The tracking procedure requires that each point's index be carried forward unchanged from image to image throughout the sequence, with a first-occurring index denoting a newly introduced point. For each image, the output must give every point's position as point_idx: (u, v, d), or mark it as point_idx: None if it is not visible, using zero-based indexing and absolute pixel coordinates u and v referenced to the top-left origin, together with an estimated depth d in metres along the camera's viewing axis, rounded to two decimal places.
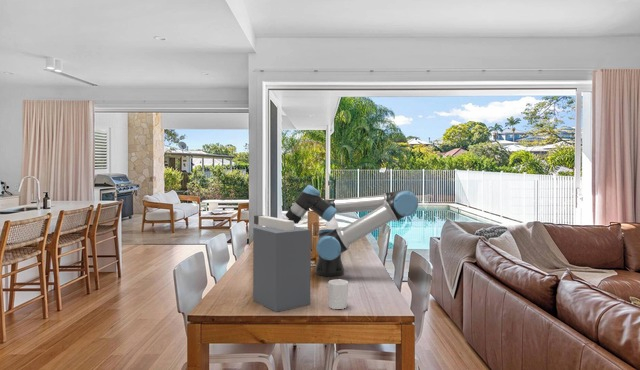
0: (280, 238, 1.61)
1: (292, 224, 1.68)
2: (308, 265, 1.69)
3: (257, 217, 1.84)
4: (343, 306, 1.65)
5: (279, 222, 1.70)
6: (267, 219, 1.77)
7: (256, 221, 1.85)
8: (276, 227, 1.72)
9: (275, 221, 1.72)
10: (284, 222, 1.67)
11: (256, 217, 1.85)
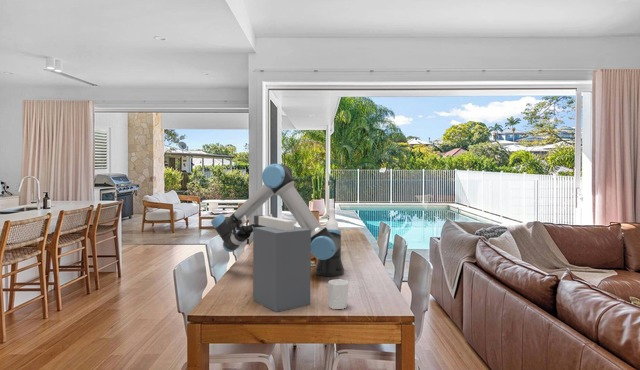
0: (280, 238, 1.61)
1: (292, 224, 1.68)
2: (308, 265, 1.69)
3: (257, 217, 1.84)
4: (343, 306, 1.65)
5: (279, 222, 1.70)
6: (267, 219, 1.77)
7: (256, 221, 1.85)
8: (276, 227, 1.72)
9: (275, 221, 1.72)
10: (284, 222, 1.67)
11: (256, 217, 1.85)
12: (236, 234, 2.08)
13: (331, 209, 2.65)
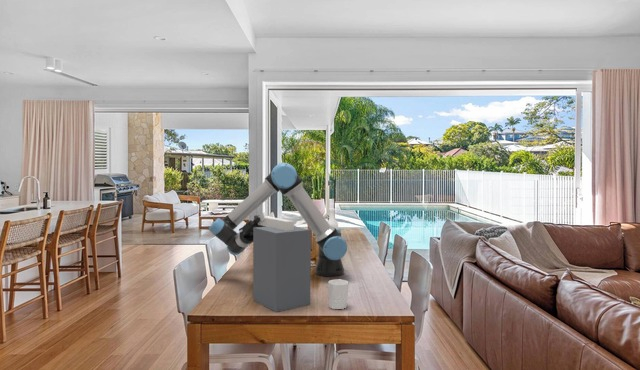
0: (280, 238, 1.61)
1: (292, 224, 1.68)
2: (308, 265, 1.69)
3: (257, 217, 1.84)
4: (343, 306, 1.65)
5: (279, 222, 1.70)
6: (267, 219, 1.77)
7: None
8: (276, 227, 1.72)
9: (275, 221, 1.72)
10: (284, 222, 1.67)
11: (256, 217, 1.85)
12: (242, 236, 1.92)
13: (331, 209, 2.65)
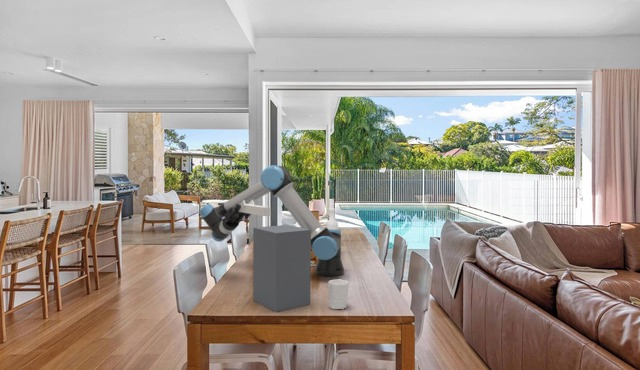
0: (280, 238, 1.61)
1: (269, 210, 1.81)
2: (308, 265, 1.69)
3: None
4: (343, 306, 1.65)
5: (257, 208, 1.83)
6: (247, 206, 1.91)
7: None
8: (255, 213, 1.85)
9: (254, 207, 1.86)
10: (261, 208, 1.80)
11: (237, 205, 1.98)
12: (224, 223, 2.05)
13: (331, 209, 2.65)
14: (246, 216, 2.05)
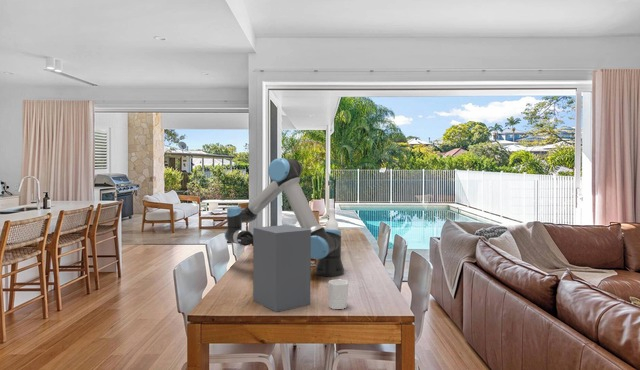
0: (280, 238, 1.61)
1: None
2: (308, 265, 1.69)
3: None
4: (343, 306, 1.65)
5: None
6: None
7: None
8: None
9: None
10: None
11: None
12: None
13: (331, 209, 2.65)
14: None
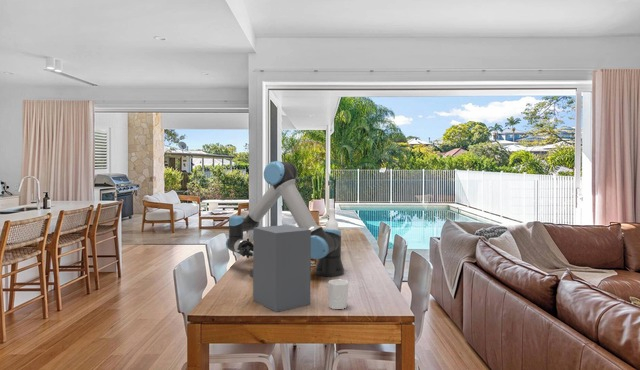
0: (280, 238, 1.61)
1: None
2: (308, 265, 1.69)
3: None
4: (343, 306, 1.65)
5: None
6: None
7: (252, 274, 2.13)
8: None
9: None
10: None
11: (252, 271, 2.13)
12: None
13: (331, 209, 2.65)
14: None
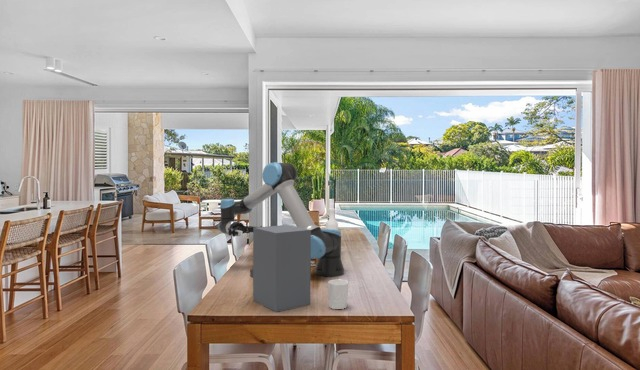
0: (280, 238, 1.61)
1: None
2: (308, 265, 1.69)
3: None
4: (343, 306, 1.65)
5: None
6: None
7: (252, 274, 2.13)
8: None
9: None
10: None
11: (252, 271, 2.13)
12: None
13: (331, 209, 2.65)
14: None
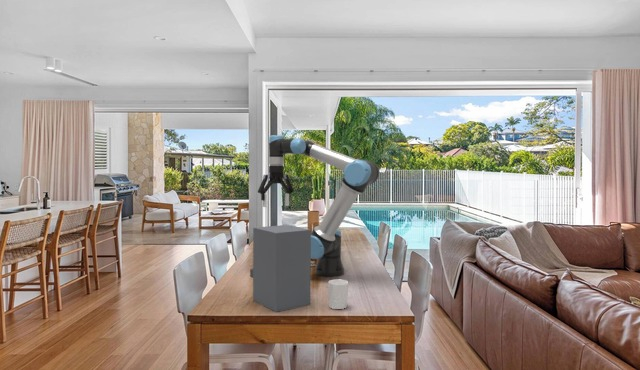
0: (280, 238, 1.61)
1: None
2: (308, 265, 1.69)
3: None
4: (343, 306, 1.65)
5: None
6: None
7: (252, 274, 2.13)
8: None
9: None
10: None
11: (252, 271, 2.13)
12: (269, 171, 2.19)
13: None
14: None
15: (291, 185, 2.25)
